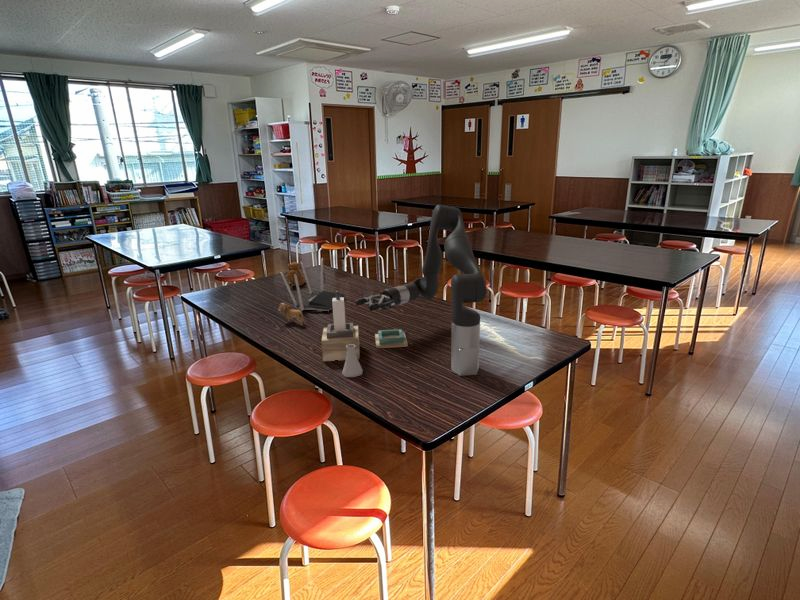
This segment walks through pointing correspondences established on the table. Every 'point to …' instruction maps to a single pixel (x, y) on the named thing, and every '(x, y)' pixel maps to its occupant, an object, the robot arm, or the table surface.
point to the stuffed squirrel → (295, 270)
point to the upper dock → (339, 342)
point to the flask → (351, 363)
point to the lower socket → (390, 338)
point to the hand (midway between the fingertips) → (362, 305)
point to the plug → (339, 313)
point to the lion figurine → (291, 313)
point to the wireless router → (312, 295)
